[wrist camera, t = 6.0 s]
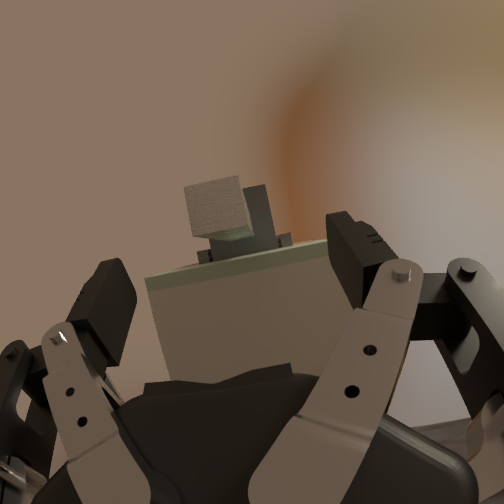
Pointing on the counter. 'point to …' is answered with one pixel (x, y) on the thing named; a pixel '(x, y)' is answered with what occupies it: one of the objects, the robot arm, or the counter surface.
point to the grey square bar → (231, 217)
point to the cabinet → (250, 312)
